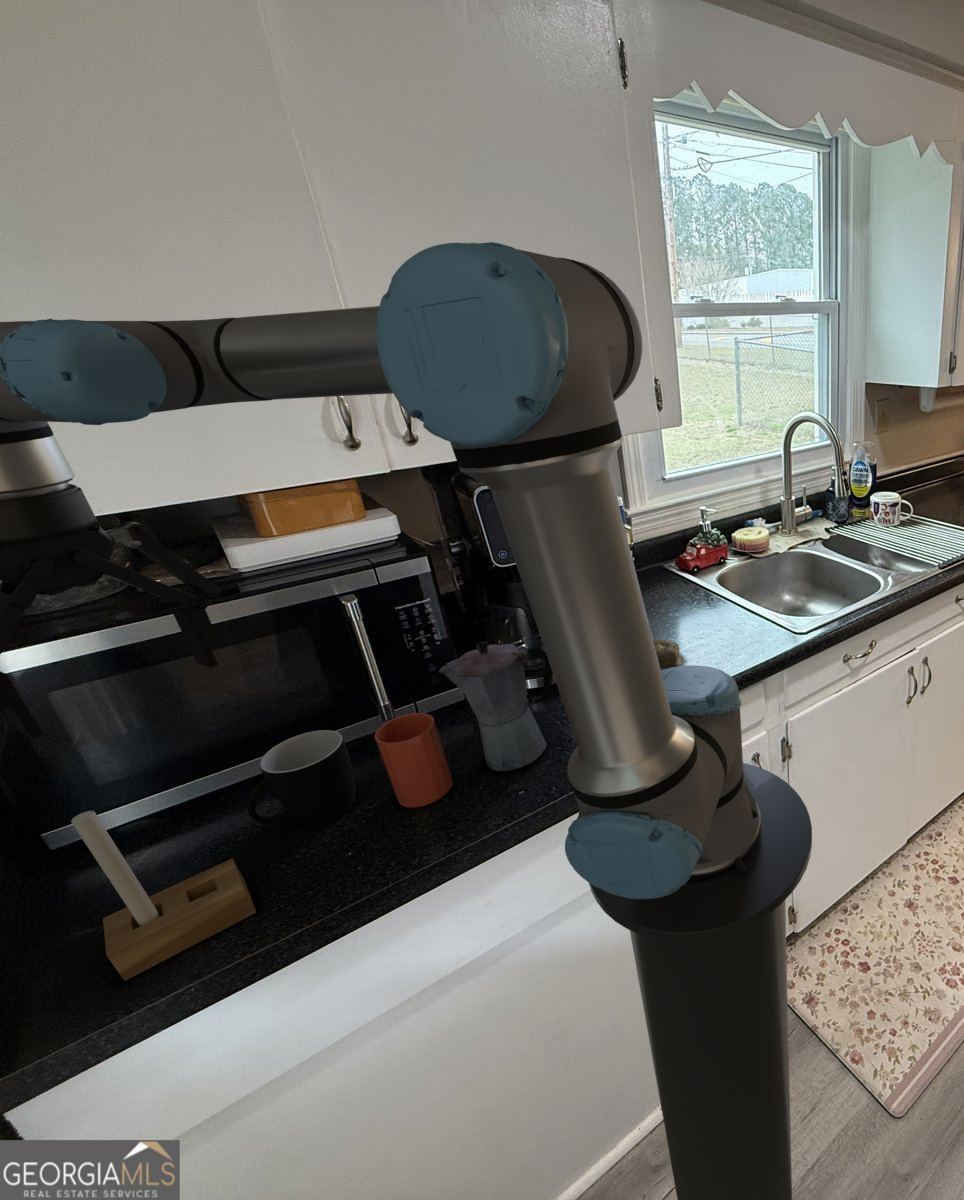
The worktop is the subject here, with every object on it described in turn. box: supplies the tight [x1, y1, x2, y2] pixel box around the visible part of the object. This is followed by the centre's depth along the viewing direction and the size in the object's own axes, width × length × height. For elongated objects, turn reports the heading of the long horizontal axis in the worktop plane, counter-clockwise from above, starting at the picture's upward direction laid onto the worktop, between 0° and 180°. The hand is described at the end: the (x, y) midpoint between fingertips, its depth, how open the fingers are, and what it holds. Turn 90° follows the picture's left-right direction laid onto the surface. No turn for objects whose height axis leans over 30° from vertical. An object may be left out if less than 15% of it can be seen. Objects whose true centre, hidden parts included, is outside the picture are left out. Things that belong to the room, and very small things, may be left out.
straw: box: [70, 810, 161, 927], centre depth 64 cm, size 2×2×18 cm
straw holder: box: [102, 857, 257, 982], centre depth 68 cm, size 6×11×4 cm, turn 138°
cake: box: [653, 639, 684, 670], centre depth 121 cm, size 10×10×5 cm
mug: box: [246, 729, 356, 826], centre depth 83 cm, size 12×9×10 cm
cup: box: [373, 712, 453, 808], centre depth 87 cm, size 7×7×11 cm
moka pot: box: [438, 640, 554, 772], centre depth 93 cm, size 10×15×20 cm, turn 110°
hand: (127, 695), depth 63 cm, fingers open, 13 cm apart
